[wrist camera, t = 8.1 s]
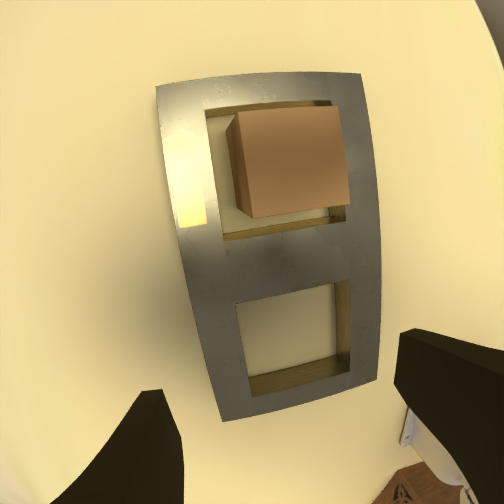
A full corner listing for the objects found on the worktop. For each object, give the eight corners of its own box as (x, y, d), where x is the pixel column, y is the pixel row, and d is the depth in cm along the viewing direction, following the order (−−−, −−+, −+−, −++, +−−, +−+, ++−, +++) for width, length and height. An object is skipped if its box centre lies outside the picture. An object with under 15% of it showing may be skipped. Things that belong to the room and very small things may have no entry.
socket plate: (362, 364, 20) (377, 381, 18) (219, 401, 18) (222, 424, 16) (343, 83, 15) (362, 72, 13) (159, 97, 14) (154, 85, 12)
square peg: (311, 196, 16) (350, 203, 12) (237, 207, 16) (253, 218, 12) (301, 123, 15) (337, 106, 11) (225, 130, 15) (238, 112, 10)
